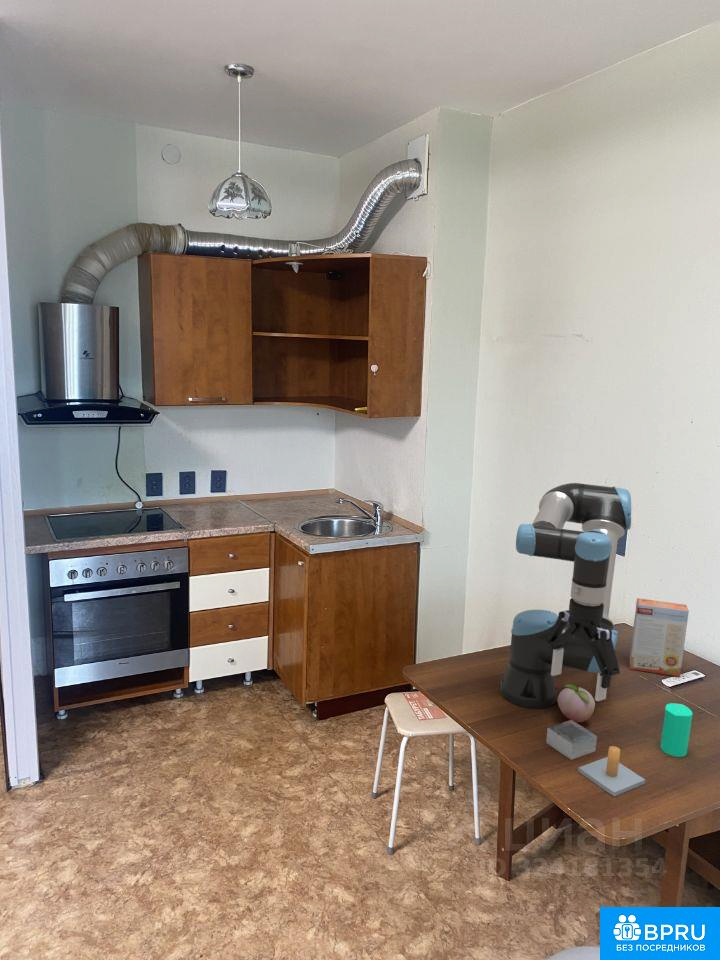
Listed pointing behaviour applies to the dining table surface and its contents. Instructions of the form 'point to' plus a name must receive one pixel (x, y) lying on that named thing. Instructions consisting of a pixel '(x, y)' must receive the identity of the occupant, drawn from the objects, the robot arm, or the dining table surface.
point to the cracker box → (658, 637)
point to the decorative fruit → (576, 703)
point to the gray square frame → (571, 739)
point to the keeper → (611, 774)
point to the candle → (676, 729)
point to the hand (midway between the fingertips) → (577, 686)
